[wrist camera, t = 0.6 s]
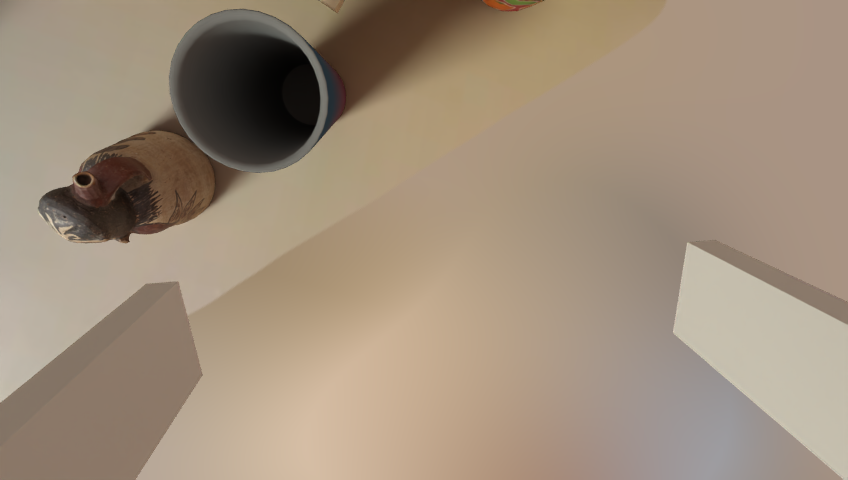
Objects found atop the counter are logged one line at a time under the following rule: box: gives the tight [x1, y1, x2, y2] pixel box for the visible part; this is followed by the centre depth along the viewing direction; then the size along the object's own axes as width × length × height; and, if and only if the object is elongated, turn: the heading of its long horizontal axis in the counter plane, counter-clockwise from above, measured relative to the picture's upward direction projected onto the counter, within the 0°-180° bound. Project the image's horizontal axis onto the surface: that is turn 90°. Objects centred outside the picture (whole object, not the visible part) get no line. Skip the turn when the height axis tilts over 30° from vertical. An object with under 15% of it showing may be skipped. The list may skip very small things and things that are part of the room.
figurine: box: [38, 131, 215, 243], centre depth 29 cm, size 7×7×12 cm
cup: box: [169, 9, 346, 173], centre depth 26 cm, size 7×7×15 cm
